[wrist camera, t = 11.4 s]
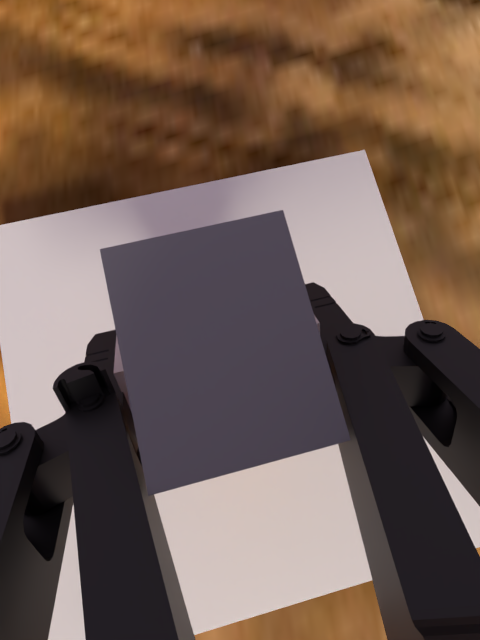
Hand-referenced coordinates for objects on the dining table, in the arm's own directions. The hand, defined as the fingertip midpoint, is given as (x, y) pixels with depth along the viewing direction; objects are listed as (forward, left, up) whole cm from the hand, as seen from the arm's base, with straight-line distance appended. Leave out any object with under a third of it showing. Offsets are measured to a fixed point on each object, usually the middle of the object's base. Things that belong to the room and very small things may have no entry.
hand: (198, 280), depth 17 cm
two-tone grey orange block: (+3, +2, -3) cm, 5 cm away
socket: (+3, +2, -8) cm, 9 cm away
